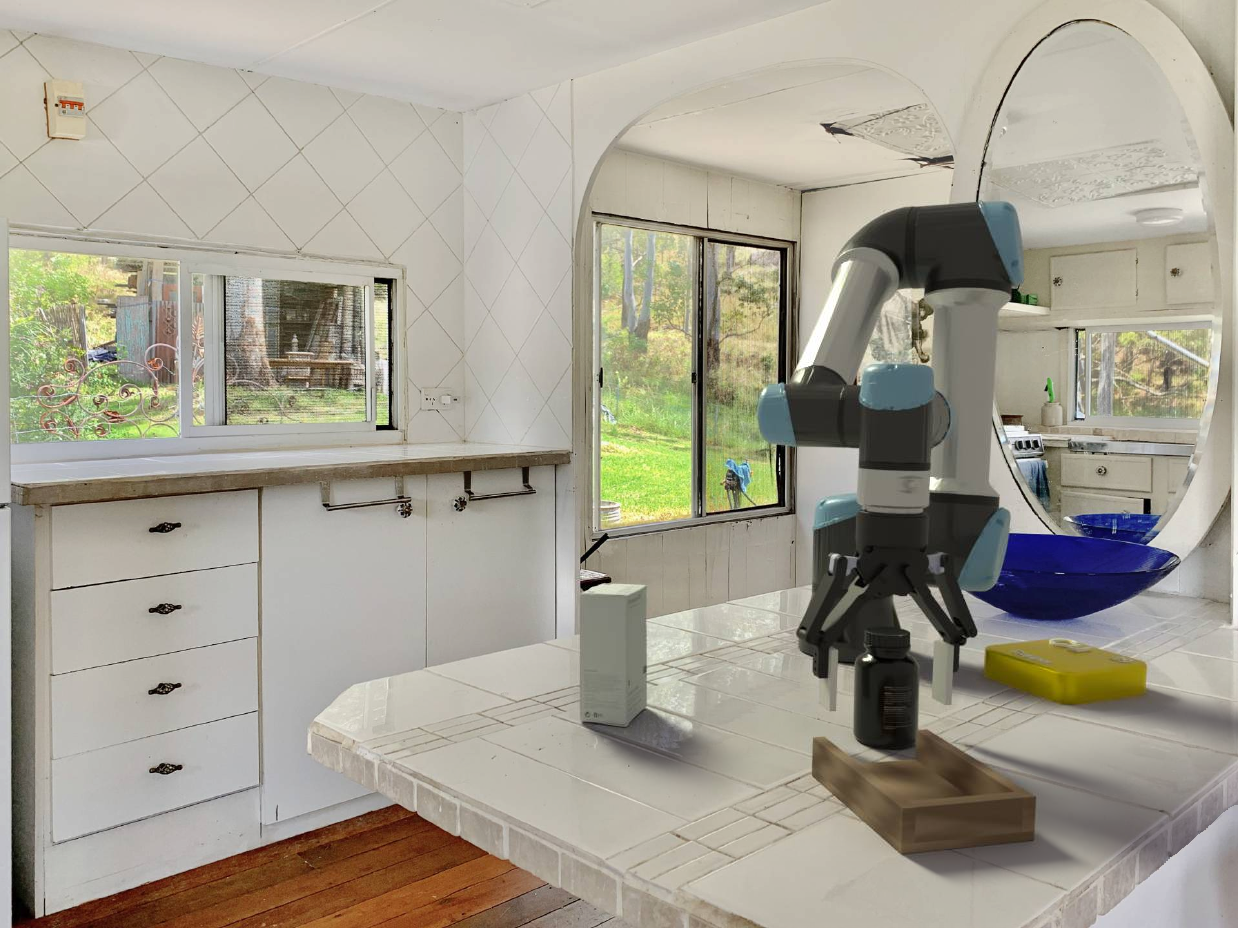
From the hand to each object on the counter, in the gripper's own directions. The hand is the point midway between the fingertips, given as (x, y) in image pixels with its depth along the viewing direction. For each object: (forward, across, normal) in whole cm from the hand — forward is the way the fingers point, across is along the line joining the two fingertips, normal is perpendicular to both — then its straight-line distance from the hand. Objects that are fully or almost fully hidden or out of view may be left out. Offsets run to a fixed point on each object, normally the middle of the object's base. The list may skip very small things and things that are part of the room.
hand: (885, 704), depth 108 cm
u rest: (+4, -6, -16) cm, 18 cm away
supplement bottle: (+4, 0, 0) cm, 4 cm away
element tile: (+4, +34, +15) cm, 38 cm away
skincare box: (+4, -27, +14) cm, 31 cm away
